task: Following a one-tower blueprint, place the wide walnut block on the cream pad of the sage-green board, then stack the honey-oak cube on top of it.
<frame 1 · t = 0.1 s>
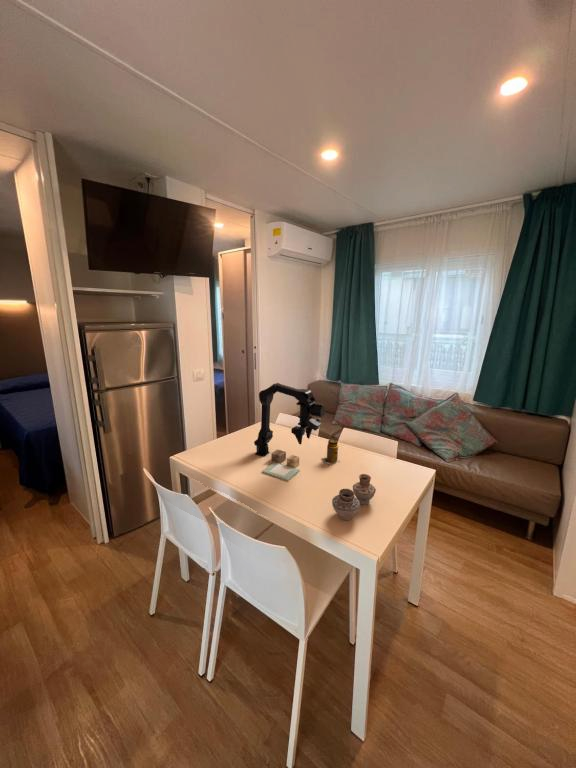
hand: (304, 441, 161), 15 cm above the table, fingers open, 9 cm apart
condiment: (330, 460, 171), on the table
walnut block: (278, 460, 170), on the table
oak cube: (292, 465, 164), on the table
base board: (281, 471, 158), on the table
pottery: (353, 508, 129), on the table
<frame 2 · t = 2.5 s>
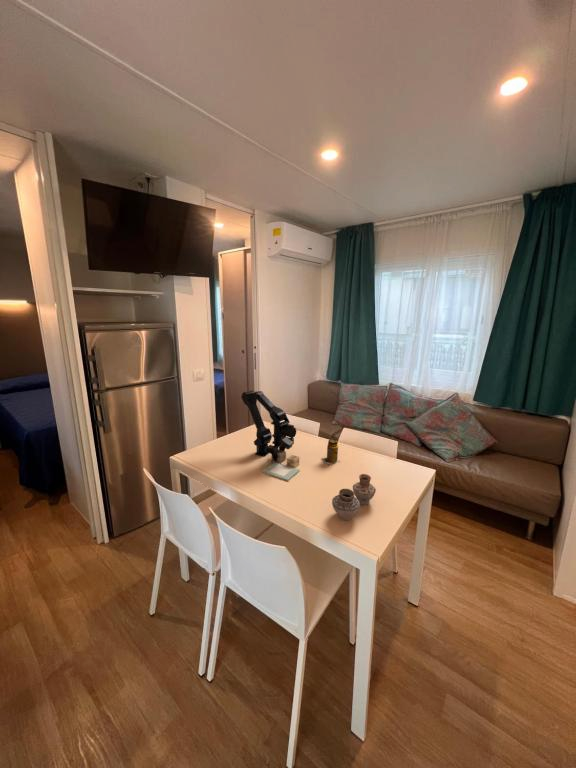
hand: (278, 458, 170), 1 cm above the table, fingers closed on walnut block, 6 cm apart
walnut block: (278, 460, 170), on the table, touching gripper
everything else where it was.
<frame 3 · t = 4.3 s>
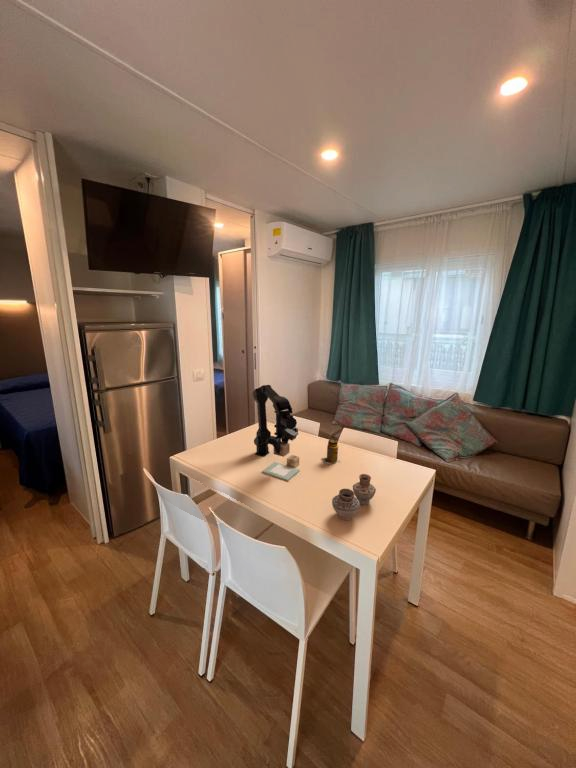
hand: (281, 451, 156), 11 cm above the table, fingers closed on walnut block, 6 cm apart
walnut block: (281, 453, 156), point 10 cm above the table, touching gripper
everything else where it was.
when the fingers open (2 cm above the table, at t = 6.5 s): walnut block stays where it is, resting on base board.
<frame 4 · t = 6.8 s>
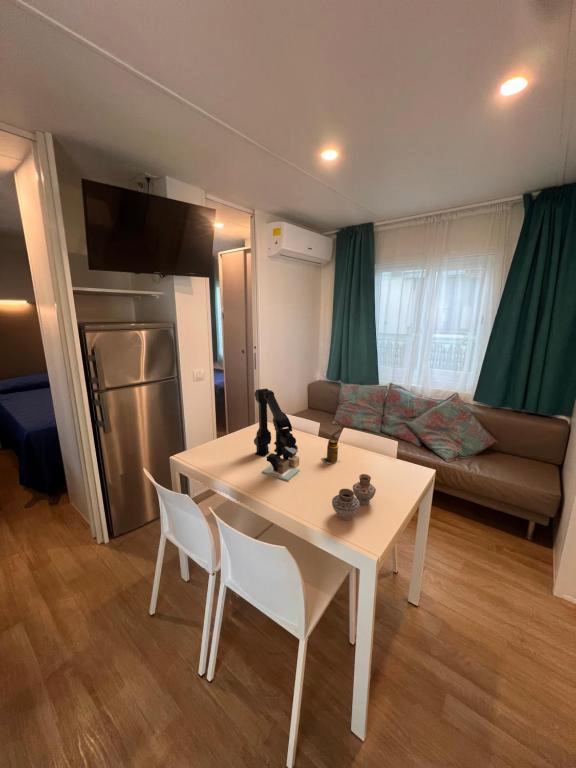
hand: (281, 467, 157), 2 cm above the table, fingers open, 9 cm apart
walnut block: (281, 469, 158), point 1 cm above the table, touching base board
everything else where it was.
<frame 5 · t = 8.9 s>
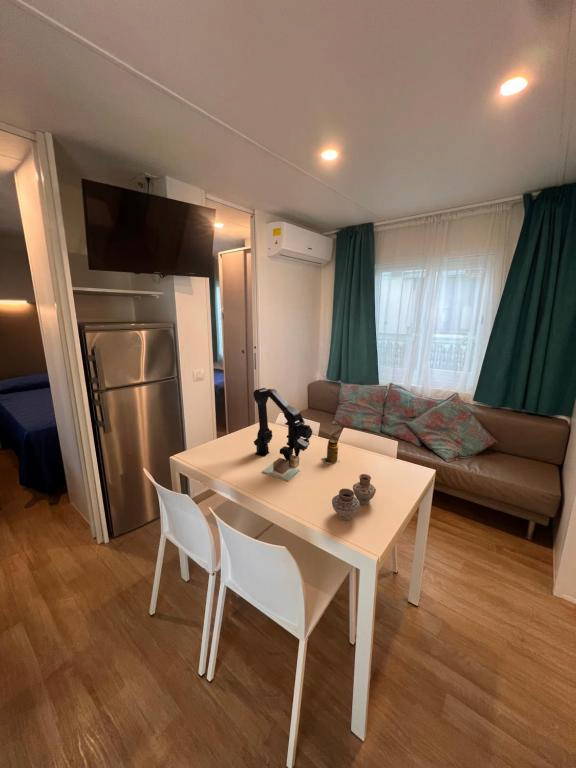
hand: (292, 460, 164), 3 cm above the table, fingers open, 8 cm apart
walnut block: (281, 470, 158), point 1 cm above the table, touching base board, gripper
everything else where it was.
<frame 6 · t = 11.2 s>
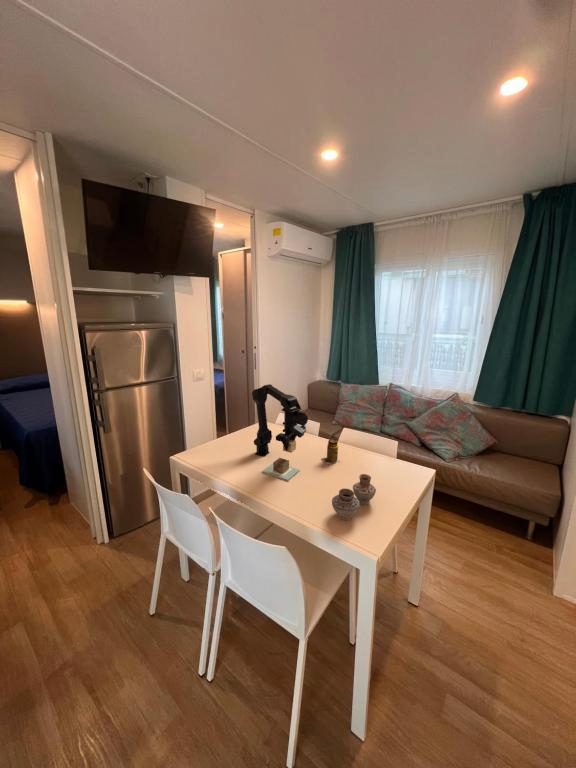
hand: (289, 448, 160), 11 cm above the table, fingers closed on oak cube, 5 cm apart
walnut block: (281, 469, 158), point 1 cm above the table, touching base board
oak cube: (289, 450, 160), point 10 cm above the table, touching gripper
everything else where it was.
when the fingers open (8 cm above the table, at t = 12.8 s): oak cube stays where it is, resting on walnut block.
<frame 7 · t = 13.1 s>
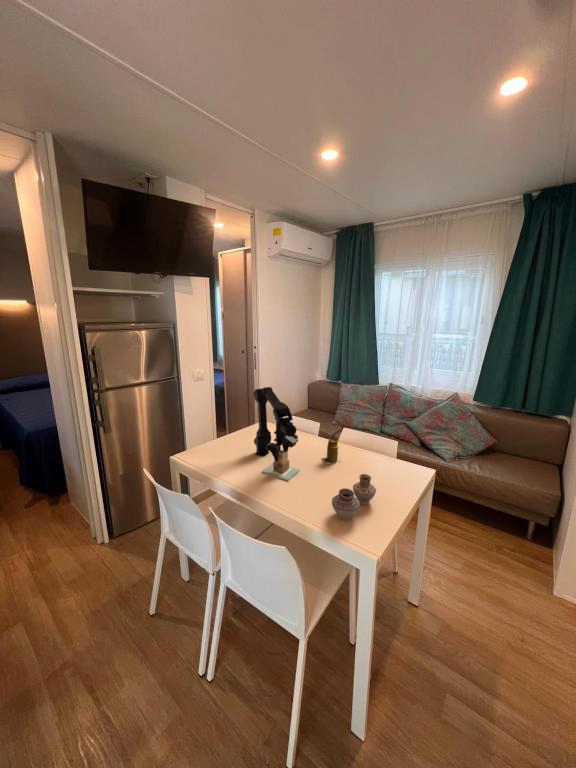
hand: (281, 457, 156), 8 cm above the table, fingers open, 8 cm apart
walnut block: (281, 469, 158), point 1 cm above the table, touching base board, oak cube
oak cube: (281, 461, 156), point 6 cm above the table, touching walnut block
everything else where it was.
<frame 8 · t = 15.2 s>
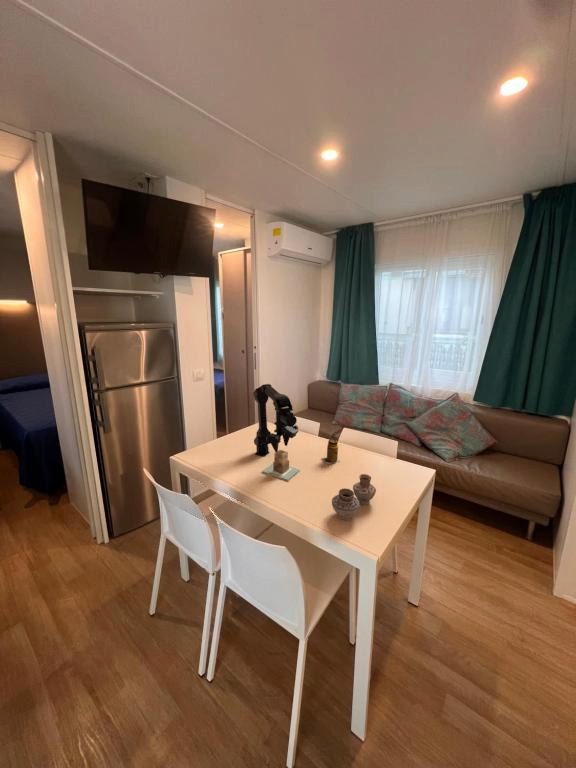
hand: (281, 448, 155), 13 cm above the table, fingers open, 9 cm apart
nothing on the table moved.
at the end: walnut block inside the target area on the base board (0.1 cm from its centre), point 1.0 cm above the base board's base; oak cube 0.1 cm from the walnut block (horizontally); oak cube point 6.0 cm above the table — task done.
